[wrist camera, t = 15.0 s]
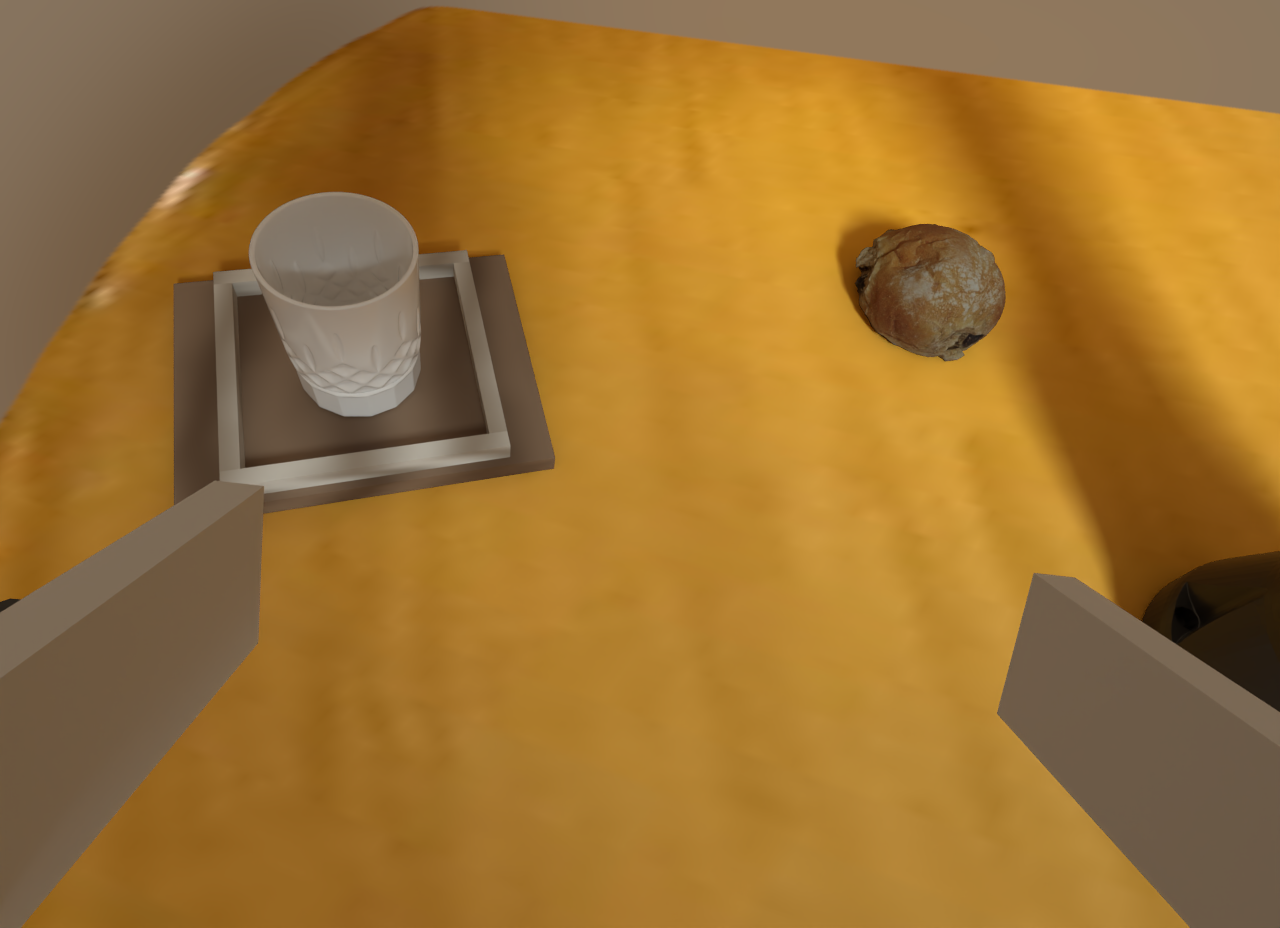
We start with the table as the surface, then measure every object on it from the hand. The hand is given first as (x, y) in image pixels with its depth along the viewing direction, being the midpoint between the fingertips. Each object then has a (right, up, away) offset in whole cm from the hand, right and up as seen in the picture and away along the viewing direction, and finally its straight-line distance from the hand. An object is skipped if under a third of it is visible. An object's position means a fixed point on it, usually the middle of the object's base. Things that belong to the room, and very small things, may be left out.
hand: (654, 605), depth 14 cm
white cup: (-17, +8, +36) cm, 40 cm away
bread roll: (+20, +14, +47) cm, 53 cm away
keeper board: (-17, +7, +37) cm, 41 cm away
